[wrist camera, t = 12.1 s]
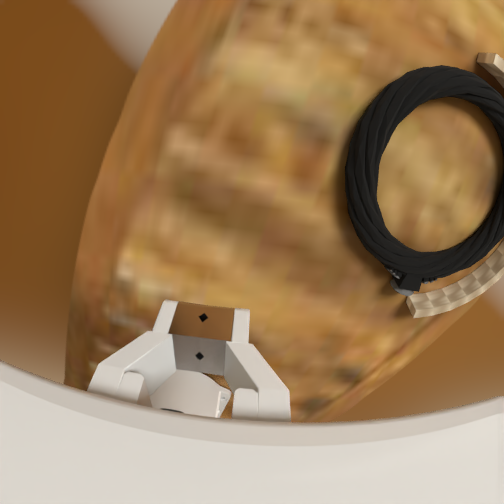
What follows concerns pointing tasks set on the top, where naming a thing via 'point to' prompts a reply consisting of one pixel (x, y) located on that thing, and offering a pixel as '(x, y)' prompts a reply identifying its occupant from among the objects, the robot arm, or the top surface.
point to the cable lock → (367, 168)
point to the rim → (484, 275)
